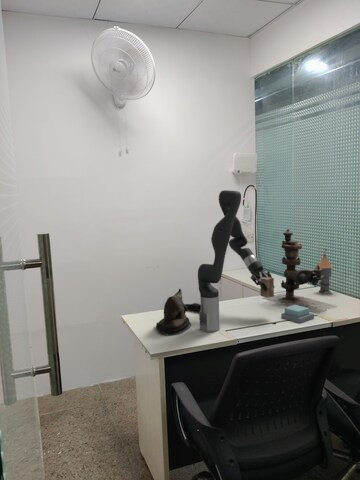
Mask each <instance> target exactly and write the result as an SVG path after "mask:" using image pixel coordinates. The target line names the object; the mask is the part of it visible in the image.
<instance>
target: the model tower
mask: <svg viewBox="0 0 360 480" xmlns="http://www.w3.org/2000/svg"><path fill="white" fill-rule="evenodd" d="M327 251H328V249H327V248H324V252H327ZM322 255H323V256H322V258H321V260H320V261H319V263H317V264H316V267H315V268H314V270H316V269H318V266H320V269H321V273H322V275H321V277H322V279H321V280H319V282H318V284H319V285H320V286H319V287H320V290H319V293H322V294H324V295H325V294H332V291H331V290H330V285H331V283H330V278H331V276H332V269H333V268H334V267H333V265H332V264H331V262H330V261H329V259H328V257H327V255H326V253H324V254H322Z"/></svg>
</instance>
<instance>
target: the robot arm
mask: <svg viewBox="0 0 360 480" xmlns="http://www.w3.org/2000/svg"><path fill="white" fill-rule="evenodd" d="M241 202H242V193H241V191H238V190H230V189H229V190H228V189H227V190H226V189H225V190H221V191H220V192H219V195H218V204H219V207H220V209H221V212H222V213H223V216H224V217H222V218H221V219H220V220H219V221H218V222H217V223H216V224H215V226H214V228H213V230H212V234H211V239H210V240H211V241H210V242H211V245H212V248H213V252H214V260H213V263H212V264H211V263H202V264H200V265H199V267H198V269H197V281H198V282H197V283H198V291H199V294H200V297H199V298H200V304H201V311H199V310H198V314H199V315H198V316H199V330H201V331H204V332H206V333H213V332H218V331H220V327H221V326H220V300H219V299H220V297H219V296H220V295H219V294H220V293H219V290H218V289H217V288H216V287H215V286H213V285H212V284H218V283H219V282H220V281H221V278H222V275H223V269H224V264H225V259H226V254H227V251H228V250H227V248H228V246H229V247H230V249H231V250H232V251H233V252H234V253H236V254H237V255H238V256H239V258H241V260H242V262H243V263H244V266H246V268H247V270H248V271H249V273H250V274H251V275H250V280H251V281H252V282H253V283H254V284H255V285H257V286H261V287H262V288H263V290H264V291H266V290H267V287H266V285H265V284H264V283H263V281H262V278H263V277H270V278H273V276H272V274H271V272H270V271H266V270H264V267H263V264H262V263H261V262H260V261H259V259H258V257H257V256H256V255H255V254H254V252H253V251H252V250H251V249H250V248H249V247H246V246H247V244H248V239H247V237H246V236H245V234H244V232H243V228H242V224H241V221H240V219H239V218H238V217H237V215H238V211H239V208H240V206H241ZM231 237H232V238H231ZM260 281H261V282H260Z"/></svg>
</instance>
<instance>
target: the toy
mask: <svg viewBox="0 0 360 480" xmlns="http://www.w3.org/2000/svg"><path fill="white" fill-rule="evenodd" d="M184 304H185V306H186V307H187V310H192V311H194V310H195V311H198V312H199V311H201V303H197V302H193V303H187V304H186V303H184Z"/></svg>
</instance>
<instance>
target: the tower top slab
mask: <svg viewBox="0 0 360 480" xmlns="http://www.w3.org/2000/svg"><path fill="white" fill-rule="evenodd" d="M302 306H303V305H301V306H298V305H292V306H289V305H288V306H286V307H284V312H285V314H289V315H292V316H296V317H301V316H304V315H306V314H309V313H310V311H309V308H307V307H304V306H303V307H302Z"/></svg>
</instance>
